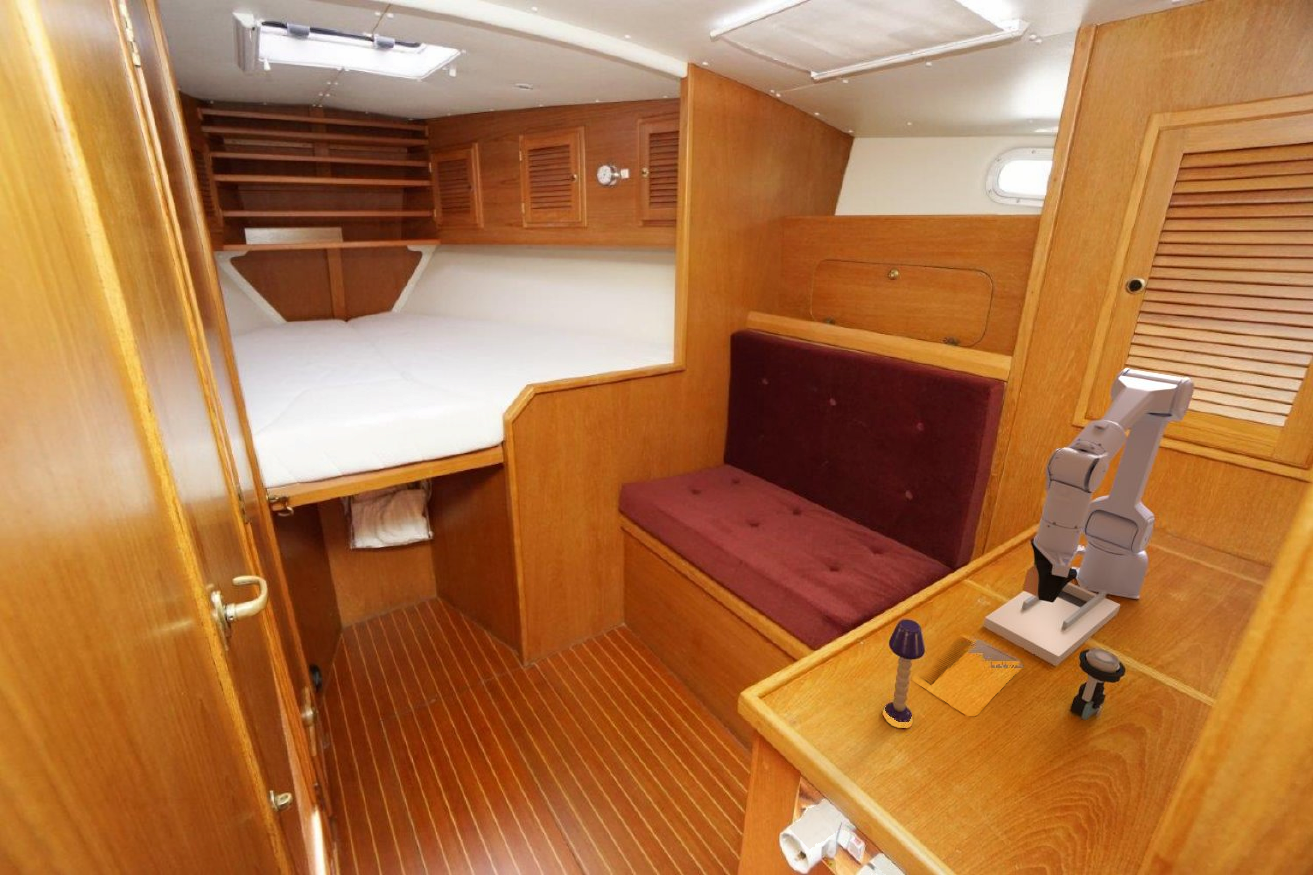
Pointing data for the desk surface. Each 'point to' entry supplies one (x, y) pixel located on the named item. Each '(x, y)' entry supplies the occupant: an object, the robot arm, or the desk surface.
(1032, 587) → the block
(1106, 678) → the push button
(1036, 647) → the trough
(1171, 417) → the robot arm
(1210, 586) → the desk surface
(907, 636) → the toy lamp
